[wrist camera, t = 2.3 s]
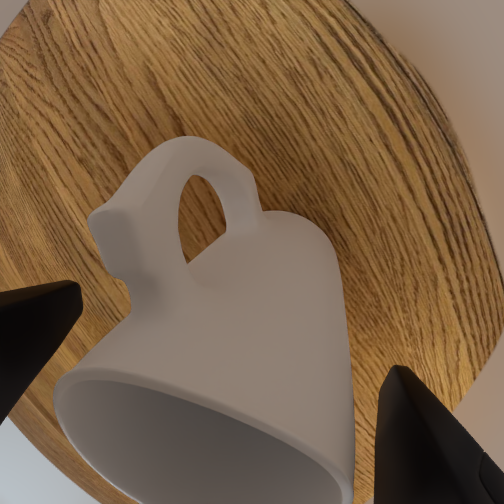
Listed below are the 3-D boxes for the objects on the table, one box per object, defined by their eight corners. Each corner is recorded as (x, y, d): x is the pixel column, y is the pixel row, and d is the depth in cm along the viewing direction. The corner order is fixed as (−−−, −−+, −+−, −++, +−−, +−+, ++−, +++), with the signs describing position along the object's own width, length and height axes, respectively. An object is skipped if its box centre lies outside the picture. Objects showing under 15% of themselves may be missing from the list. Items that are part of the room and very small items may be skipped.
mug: (349, 319, 16) (349, 542, 5) (231, 329, 18) (135, 511, 7) (319, 124, 13) (301, 38, 2) (185, 154, 15) (-45, 208, 4)
